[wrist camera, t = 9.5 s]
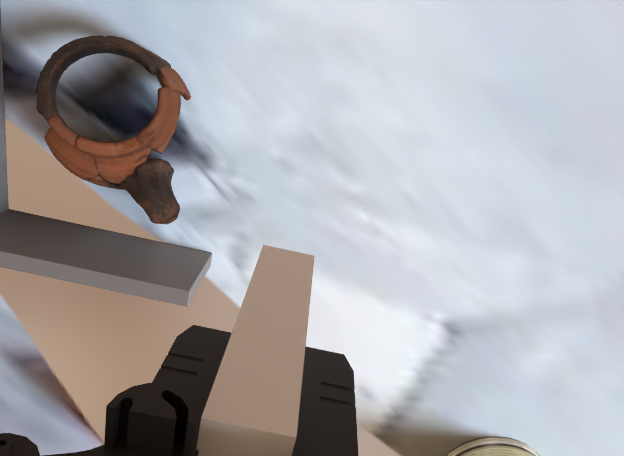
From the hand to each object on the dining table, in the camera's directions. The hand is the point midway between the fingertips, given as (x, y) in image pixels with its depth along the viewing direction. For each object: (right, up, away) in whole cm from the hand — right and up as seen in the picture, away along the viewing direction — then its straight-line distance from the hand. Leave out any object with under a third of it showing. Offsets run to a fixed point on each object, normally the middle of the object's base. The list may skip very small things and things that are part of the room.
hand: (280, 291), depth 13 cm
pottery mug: (-11, +9, +19) cm, 24 cm away
